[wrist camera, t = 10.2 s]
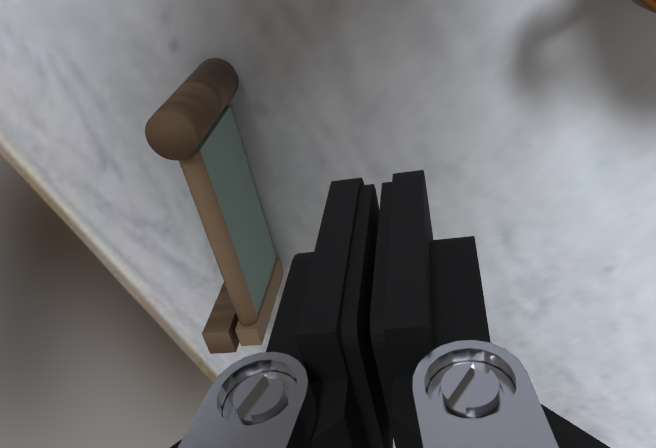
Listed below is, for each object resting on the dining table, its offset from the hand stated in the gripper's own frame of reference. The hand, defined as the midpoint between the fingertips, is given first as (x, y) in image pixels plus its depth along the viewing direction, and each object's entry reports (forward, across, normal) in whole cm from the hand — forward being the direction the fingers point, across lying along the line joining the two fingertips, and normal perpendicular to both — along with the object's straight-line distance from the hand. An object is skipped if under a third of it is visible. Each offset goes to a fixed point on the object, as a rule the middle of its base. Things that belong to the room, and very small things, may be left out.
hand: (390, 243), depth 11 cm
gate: (+28, +14, +14) cm, 35 cm away
